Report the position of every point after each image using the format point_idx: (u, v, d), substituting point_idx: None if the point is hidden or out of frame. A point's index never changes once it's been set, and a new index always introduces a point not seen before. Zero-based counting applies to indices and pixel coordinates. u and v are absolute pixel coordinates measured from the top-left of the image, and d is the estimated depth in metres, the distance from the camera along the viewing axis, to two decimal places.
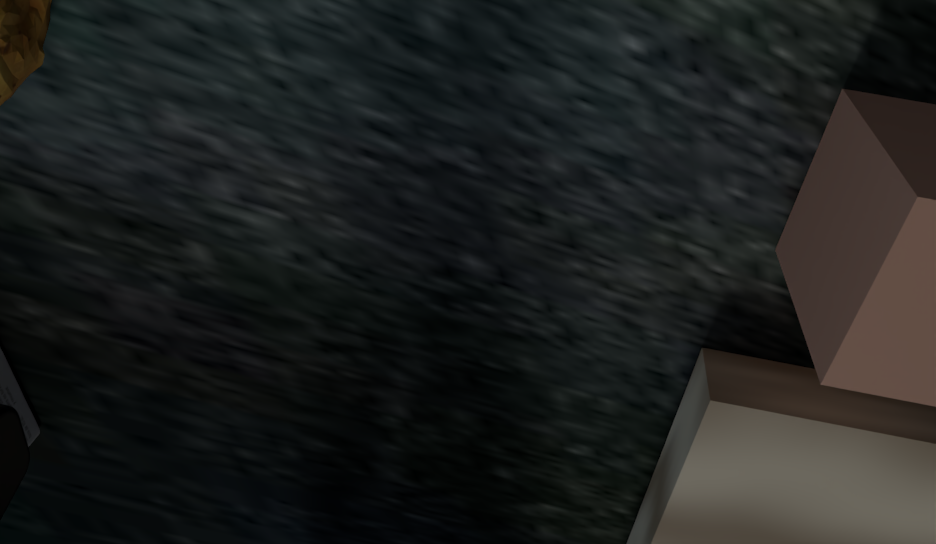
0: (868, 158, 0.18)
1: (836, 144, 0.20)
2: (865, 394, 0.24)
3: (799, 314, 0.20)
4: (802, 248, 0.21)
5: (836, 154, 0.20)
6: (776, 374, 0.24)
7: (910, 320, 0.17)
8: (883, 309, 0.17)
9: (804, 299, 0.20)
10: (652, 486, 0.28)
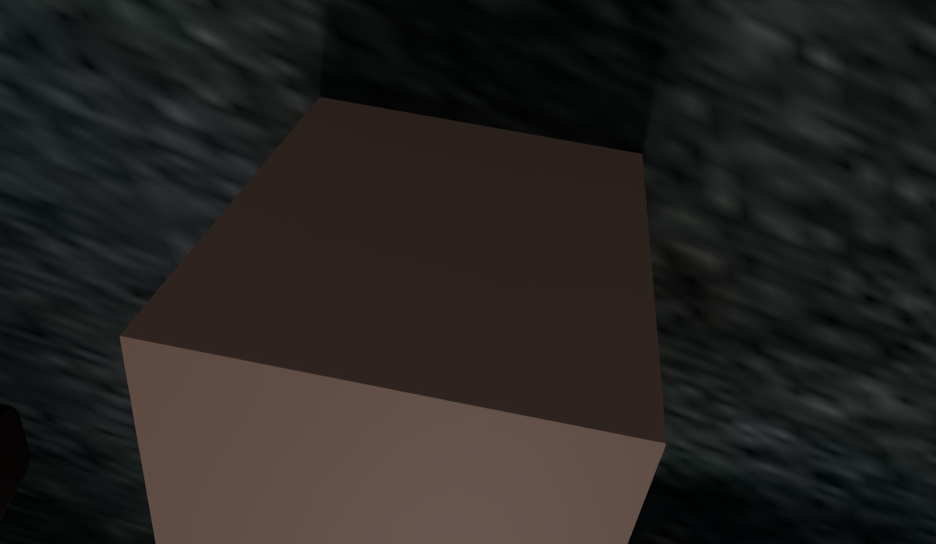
0: None
1: None
2: None
3: None
4: None
5: None
6: None
7: None
8: (191, 529, 0.09)
9: None
10: None
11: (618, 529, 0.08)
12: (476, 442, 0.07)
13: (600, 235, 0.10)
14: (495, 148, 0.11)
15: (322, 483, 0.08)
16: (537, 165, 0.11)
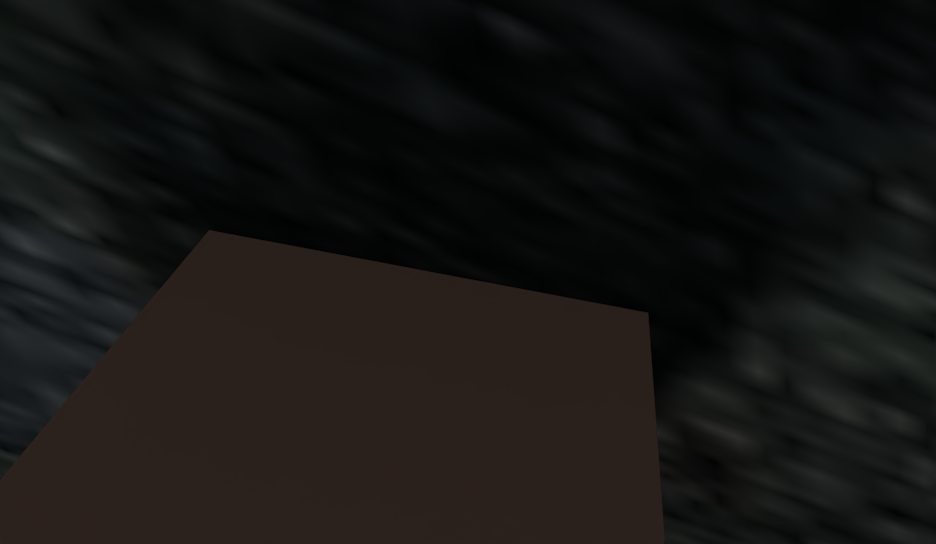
0: None
1: None
2: None
3: None
4: None
5: None
6: None
7: None
8: None
9: None
10: None
11: None
12: None
13: (586, 489, 0.06)
14: (443, 316, 0.08)
15: None
16: (501, 345, 0.08)
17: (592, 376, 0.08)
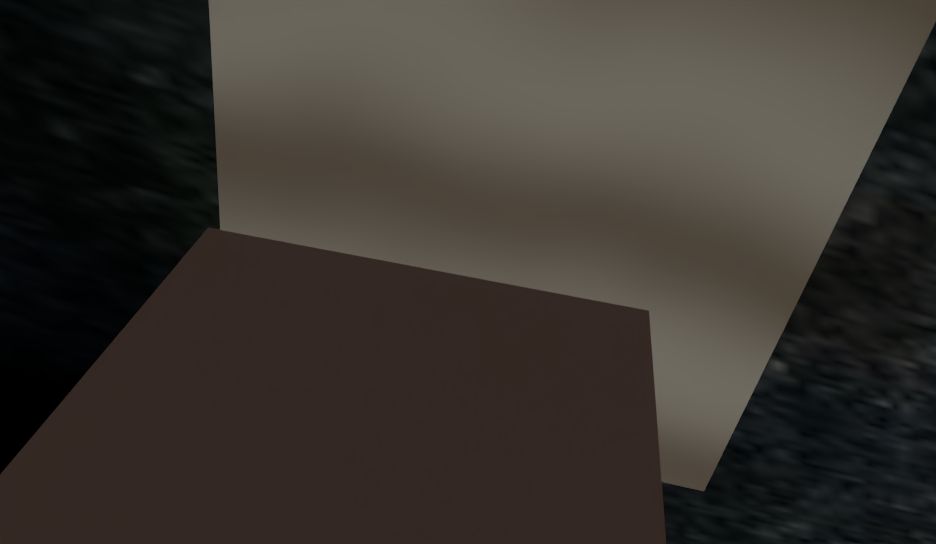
0: None
1: None
2: None
3: None
4: None
5: None
6: None
7: None
8: None
9: None
10: None
11: None
12: None
13: (586, 488, 0.06)
14: (443, 314, 0.08)
15: None
16: (501, 342, 0.08)
17: (593, 374, 0.08)
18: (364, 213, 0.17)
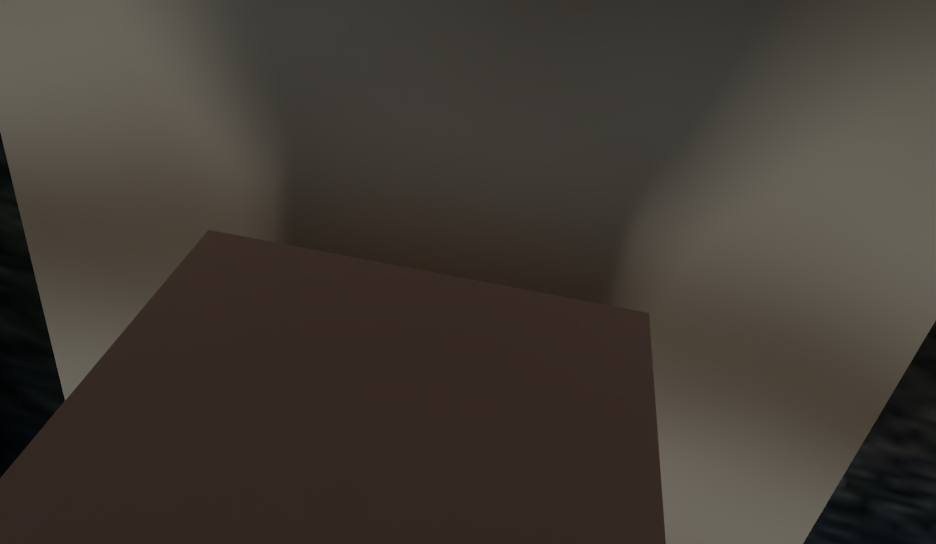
0: None
1: None
2: None
3: None
4: None
5: None
6: None
7: None
8: None
9: None
10: None
11: None
12: None
13: (586, 491, 0.06)
14: (443, 316, 0.08)
15: None
16: (501, 345, 0.08)
17: (593, 376, 0.08)
18: None
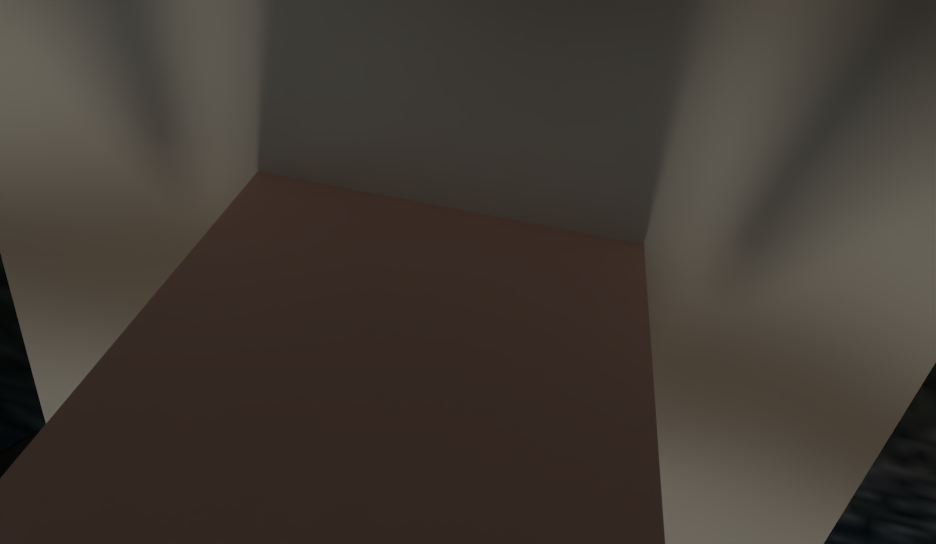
0: None
1: None
2: None
3: None
4: None
5: None
6: None
7: None
8: None
9: None
10: None
11: None
12: None
13: (591, 374, 0.08)
14: (465, 243, 0.09)
15: None
16: (516, 265, 0.09)
17: (595, 291, 0.09)
18: None
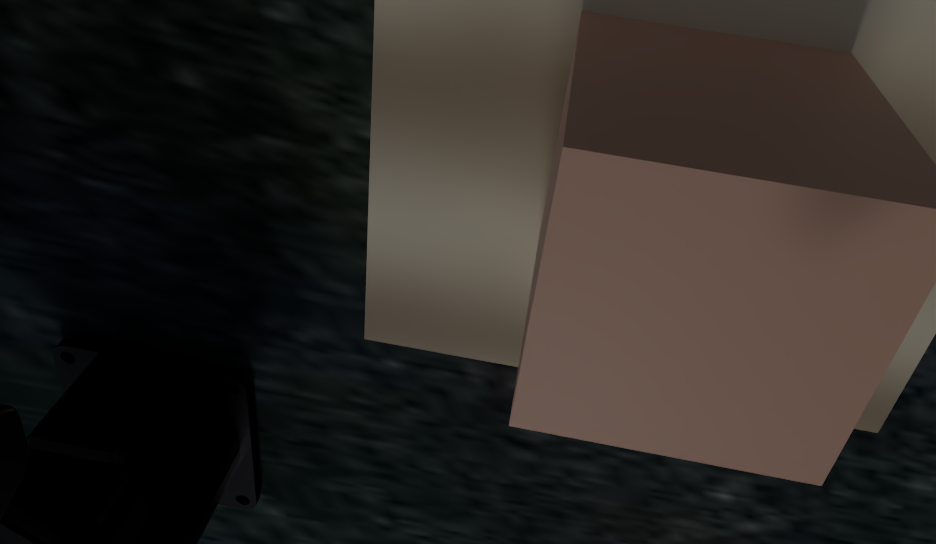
0: (567, 100, 0.12)
1: (567, 87, 0.14)
2: None
3: (525, 322, 0.15)
4: None
5: (565, 100, 0.14)
6: None
7: (603, 336, 0.11)
8: (562, 319, 0.11)
9: (529, 302, 0.14)
10: None
11: (917, 295, 0.10)
12: (822, 223, 0.10)
13: (853, 101, 0.12)
14: (738, 47, 0.14)
15: (685, 269, 0.10)
16: (777, 58, 0.14)
17: (833, 70, 0.13)
18: (529, 137, 0.16)
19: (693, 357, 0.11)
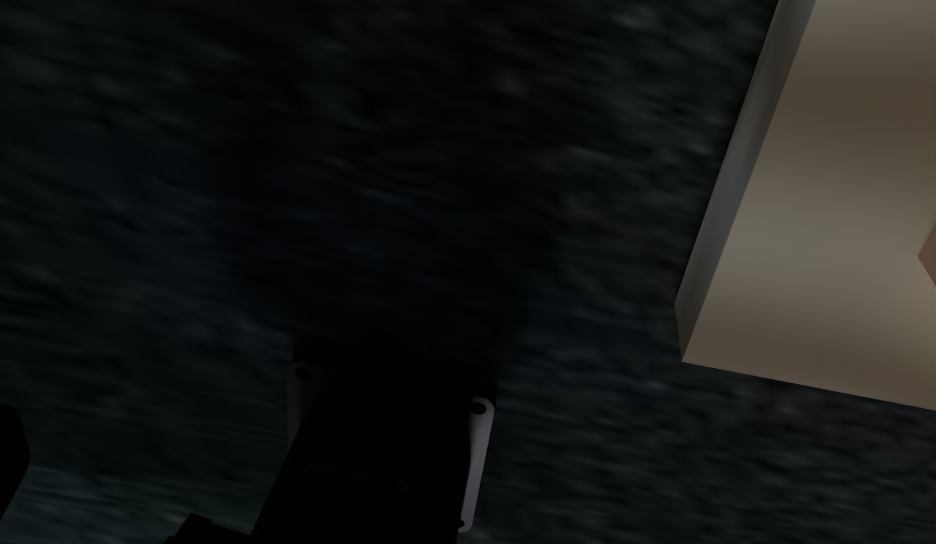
0: None
1: None
2: None
3: None
4: None
5: None
6: None
7: None
8: None
9: None
10: (758, 73, 0.17)
11: None
12: None
13: None
14: None
15: None
16: None
17: None
18: None
19: None
